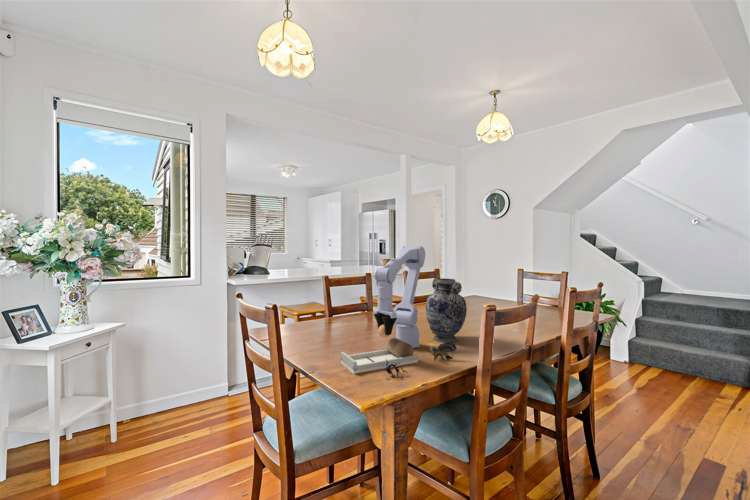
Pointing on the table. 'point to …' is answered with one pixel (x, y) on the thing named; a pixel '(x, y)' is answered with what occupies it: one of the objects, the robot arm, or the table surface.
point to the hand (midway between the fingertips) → (384, 333)
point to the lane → (374, 360)
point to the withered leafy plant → (443, 350)
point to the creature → (394, 367)
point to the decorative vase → (446, 310)
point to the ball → (382, 331)
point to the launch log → (400, 348)
